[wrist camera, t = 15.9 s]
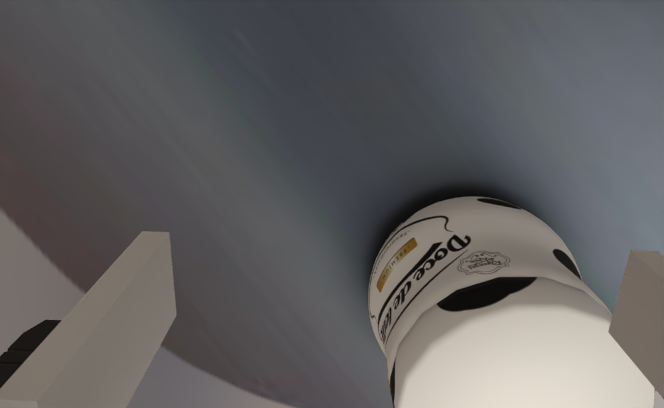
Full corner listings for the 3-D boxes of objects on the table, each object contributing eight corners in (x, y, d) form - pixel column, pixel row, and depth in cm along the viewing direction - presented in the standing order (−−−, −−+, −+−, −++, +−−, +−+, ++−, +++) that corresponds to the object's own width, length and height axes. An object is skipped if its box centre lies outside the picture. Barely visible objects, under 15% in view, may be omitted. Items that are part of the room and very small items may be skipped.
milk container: (361, 189, 44) (374, 300, 27) (562, 178, 43) (703, 284, 26) (369, 353, 50) (383, 525, 33) (545, 345, 49) (650, 517, 33)
